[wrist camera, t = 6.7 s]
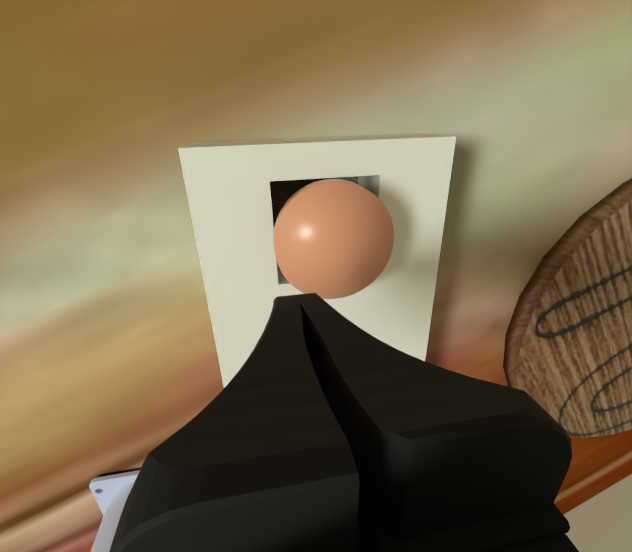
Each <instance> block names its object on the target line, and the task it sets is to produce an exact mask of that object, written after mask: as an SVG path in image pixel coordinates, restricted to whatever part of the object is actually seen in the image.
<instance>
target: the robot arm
mask: <svg viewBox="0 0 632 552" xmlns="http://www.w3.org/2000/svg"><path fill="white" fill-rule="evenodd" d="M273 302H274V303H273V308H272V311H271V314H270V317H269V320H268V322H267V324H266V327H265V329H264V331H263V333H262V335H261V337H260V339H259V340H258V342H257V344H256V346H255V348H254V349H253V351H252V353H251V354H250V356H249V357H248V359H247V360H246V362H245V363H244V364H243V366H242V367H241V369H240V370H239V371H238V372H237V374H236V375H235V376H234V377H233V378H232V380H231V381H230V382H229V383H228V385H227V386H226V387H225V388H224V389H223V390H222V391H221V392H220V393H219V395H218V396H217V397H216V398H215V399H214V400H212V401H211V402H210V403H209V404H208V405H207V406H206V407H205V408H204V409H203V410H202V411H201V412H200V413H199V414H198V415H197V416H196V417H194V418H193V419H192V420H191V421H190V422H189V423H187V424H186V425H185V426H184V427H182V428H181V429H180V430H178V431H177V432H176V433H175V434H173V435H172V436H171V437H169V438H168V439H167V440H166V441H164V442H163V443H162V444H160V445H159V446H158V447H156V448H155V449H154V450H152V451H151V452H150V453H149V454H148V455H147V457H146V459H145V461H144V463H143V465H142V467H141V469H140V470H137V471H131V472H125V473H120V474H114V475H108V476H102V477H97V478H94V479H93V480H92V481H91V483H90V485H89V487H90V489H91V491H92V493H93V495H94V497H95V499H96V501H97V503H98V505H99V507H100V509H101V511H102V513H103V515H104V517H103V520H102V522H101V525H100V528H99V530H98V533H97V536H96V538H95V541H94V544H93V546H92V549H91V552H579V551H578V550H577V549H576V547H575V546H574V545H573V543H572V542H571V541H570V539H569V538H568V537H567V535H565V533H567V532H568V531H569V529H570V526H569V523H568V521H567V519H566V518H565V517H564V516H563V514H562V513H561V512H560V511H559V509H558V508H557V507H556V506H555V504H554V501H555V498H556V496H557V494H558V492H559V489H560V487H561V485H562V482H563V480H564V478H565V476H566V473H567V471H568V469H569V465H570V461H571V458H572V446H571V439H570V437H569V436H568V434H567V432H566V431H565V429H564V428H563V427H562V426H561V425H560V424H559V423H558V422H557V421H556V420H555V419H554V418H553V417H552V416H550V415H549V414H548V413H547V412H546V411H545V410H544V409H543V408H542V407H541V406H540V405H539V404H538V403H537V402H536V401H535V400H534V399H533V398H532V397H531V396H530V395H529V394H528V393H527V392H525V391H524V390H520V389H516V388H512V387H508V386H504V385H499V384H495V383H491V382H487V381H483V380H479V379H475V378H472V377H469V376H465V375H462V374H459V373H456V372H453V371H450V370H447V369H444V368H441V367H438V366H435V365H433V364H430V363H427V362H425V361H423V360H420V359H418V358H416V357H413V356H411V355H408V354H406V353H404V352H402V351H400V350H398V349H396V348H394V347H392V346H390V345H388V344H386V343H384V342H382V341H380V340H379V339H377V338H375V337H373V336H372V335H370V334H369V333H367V332H366V331H364V330H362V329H361V328H359V327H358V326H356V325H355V324H354V323H352V322H351V321H349V320H348V319H347V318H345V317H344V316H343V315H341V314H340V313H339V312H338V311H336V310H335V309H334V308H333V307H332V306H330V305H329V304H328V303H327V302H326V301H324V300H323V299H322V298H321V297H320V296H319V295H317V294H316V293H307V294H298V295H288V296H278V297H276V298H275V299H274V300H273Z"/></svg>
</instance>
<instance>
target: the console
mask: <svg viewBox="0 0 632 552" xmlns="http://www.w3.org/2000/svg"><path fill="white" fill-rule="evenodd" d="M455 142H456V136H446V135H433V134H399V135H374V136H349V137H324V138H299V139H274V140H249V141H224V142H199V143H190V144H187V145H185V146H182V147H180V148H178V149H179V155H180V160H181V165H182V170H183V176H184V181H185V186H186V191H187V197H188V202H189V207H190V212H191V218H192V223H193V228H194V233H195V239H196V244H197V249H198V254H199V260H200V265H201V270H202V275H203V281H204V286H205V291H206V296H207V302H208V307H209V312H210V317H211V323H212V328H213V333H214V338H215V344H216V349H217V354H218V359H219V364H220V370H221V375H222V380H223V385H224V388H225V387H226V386H227V385H228V383H229V382H230V381H231V380H232V378H233V377H234V376H235V375H236V374H237V372H238V371H239V370H240V369H241V367H242V366H243V364H244V363H245V362H246V360H247V359H248V357H249V356H250V354H251V353H252V351H253V349H254V348H255V346H256V344H257V342H258V340H259V339H260V337H261V335H262V333H263V331H264V329H265V327H266V324H267V322H268V320H269V317H270V314H271V311H272V308H273V303H274V302H273V300H274V299H275V298H276V297H278V296H288V295H298V294H305V293H302V292H301V291H299V290H298V289H296V288H295V287H294V286H292V285H291V284H290V283H289V282H288V281H287V279H286V278H285V277H284V275H283V274H282V272H281V270H280V268H279V266H278V263H277V260H276V255H275V250H274V244H273V233H274V226H273V214H272V202H271V191H270V181H286V180H303V179H320V178H337V177H355V176H358V185H360V186H362V187H364V188H365V189H367V190H368V191H370V192H372V193H373V194H374V195H375V196H377V197H378V198H379V199H380V200H381V201H382V203H383V204H384V205H385V207H386V208H387V210H388V212H389V214H390V216H391V219H392V223H393V228H394V244H393V249H392V253H391V256H390V258H389V261H388V263H387V265H386V267H385V268H384V270H383V271H382V273H381V274H380V275H379V276H378V277H377V278H376V280H374V281H373V282H372V283H371V284H370V285H369V286H367V287H366V288H364V289H363V290H361V291H359V292H357V293H355V294H353V295H350V296H347V297H343V298H337V299H323V300H324V301H326V302H327V303H328V304H329V305H330V306H332V307H333V308H334V309H335V310H336V311H338V312H339V313H340V314H341V315H343V316H344V317H345V318H347V319H348V320H349V321H351V322H352V323H354V324H355V325H356V326H358V327H359V328H361V329H362V330H364V331H366V332H367V333H369V334H370V335H372V336H373V337H375V338H377V339H379V340H380V341H382V342H384V343H386V344H388V345H390V346H392V347H394V348H396V349H398V350H400V351H402V352H404V353H406V354H408V355H411V356H413V357H416V358H418V359H420V360H423V361H425V359H426V351H427V344H428V337H429V330H430V322H431V315H432V308H433V301H434V294H435V286H436V279H437V272H438V265H439V257H440V250H441V243H442V236H443V228H444V221H445V214H446V207H447V200H448V192H449V185H450V178H451V171H452V163H453V156H454V149H455Z"/></svg>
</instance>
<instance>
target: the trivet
mask: <svg viewBox="0 0 632 552" xmlns="http://www.w3.org/2000/svg"><path fill="white" fill-rule="evenodd" d="M503 368H504V372H505V375H506V379H507V383H508V386H509V387H512V388H516V389H520V390H524V391H525V392H527V393H528V394H529V395H530V396H531V397H532V398H533V399H534V400H535V401H536V402H537V403H538V404H539V405H540V406H541V407H542V408H543V409H544V410H545V411H546V412H547V413H548V414H549V415H550V416H552V417H553V418H554V419H555V420H556V421H557V422H558V423H559V424H560V425H561V426H562V427H563V428H564V429H565V431H566V432H567V434H568V436H575V437H583V438H587V437H596V436H604V435H613V434H617V433H620V432H623V431H627V430H630V429H632V179H630V180H628V181H626V182H624V183H623V184H621V185H620V186H619V187H617V188H616V189H615V190H614V191H612V192H611V193H610V194H608V195H607V196H606V197H605V198H603V199H602V200H601V201H600V202H598V203H597V204H596V205H594V206H593V207H592V208H591V209H589V210H588V211H587V212H585V213H584V214H583V215H582V216H580V217H579V218H578V219H577V221H576V222H575V223H574V224H573V225H572V226H571V227H570V228H569V229H568V231H567V232H566V233H565V234H564V235H563V236H562V237H561V238H560V239H559V241H558V242H557V243H556V244H555V245H554V246H553V247H552V248H551V249H550V251H549V252H548V253H547V254H546V255H545V256H544V258H543V259H542V261H541V262H540V264H539V266H538V267H537V269H536V271H535V272H534V274H533V275H532V277H531V279H530V280H529V282H528V283H527V285H526V287H525V288H524V290H523V292H522V293H521V295H520V296H519V299H518V302H517V304H516V307H515V310H514V313H513V316H512V318H511V321H510V324H509V327H508V330H507V332H506V337H505V350H504V362H503Z"/></svg>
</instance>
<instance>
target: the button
mask: <svg viewBox="0 0 632 552" xmlns="http://www.w3.org/2000/svg"><path fill="white" fill-rule="evenodd" d="M273 244H274V250H275V255H276V260H277V263H278V266H279V268H280V270H281V272H282V274H283V275H284V277H285V278H286V279H287V281H288V282H289V283H290V284H291V285H292V286H294V287H295V288H296V289H298V290H299V291H301V292H302V293H305V294H307V293H316V294H317V295H319V296H320V297H321V298H322V299H337V298H343V297H347V296H350V295H353V294H355V293H357V292H359V291H361V290H363V289H364V288H366V287H367V286H369V285H370V284H371V283H372V282H373V281H374V280H376V278H377V277H378V276H379V275H380V274H381V273H382V271H383V270H384V268H385V267H386V265H387V263H388V261H389V258H390V256H391V253H392V249H393V244H394V228H393V223H392V219H391V216H390V214H389V212H388V210H387V208H386V207H385V205H384V204H383V203H382V201H381V200H380V199H379V198H378V197H377V196H375V195H374V194H373V193H372V192H370V191H368V190H367V189H365V188H364V187H362V186H360V185H358V184H356V183H354V182H351V181H347V180H342V179H325V180H320V181H316V182H313V183H311V184H308V185H306V186H305V187H303V188H301V189H300V190H298V191H297V192H296V193H294V194H293V195H292V196H291V197H290V198H289V199H288V200H287V202H286V203H285V204H284V206H283V207H282V209H281V211H280V212H279V214H278V217H277V219H276V223H275V226H274V233H273Z"/></svg>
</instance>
